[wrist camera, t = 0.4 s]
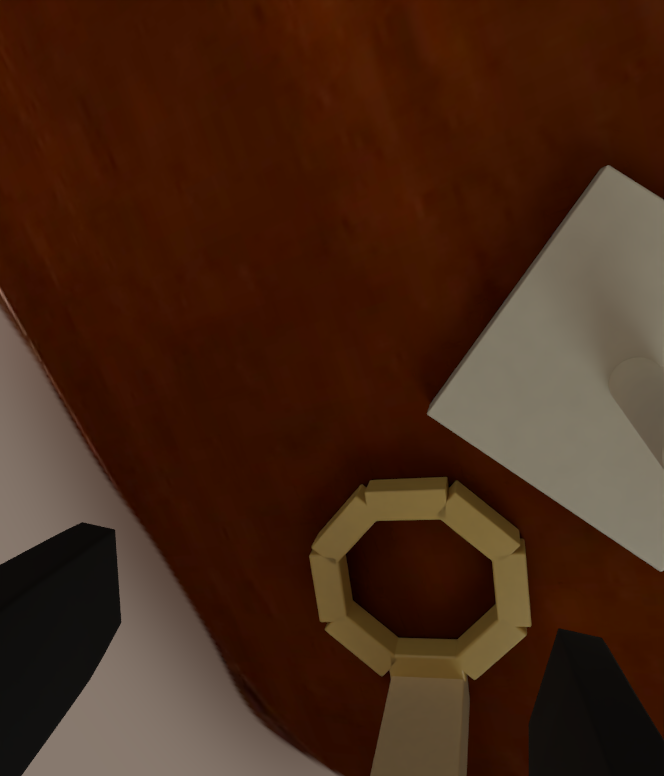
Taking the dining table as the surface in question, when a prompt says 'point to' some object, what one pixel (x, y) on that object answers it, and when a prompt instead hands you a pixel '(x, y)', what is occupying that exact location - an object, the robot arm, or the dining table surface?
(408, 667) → the tan ring with handle
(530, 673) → the dining table surface
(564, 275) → the white peg stand
